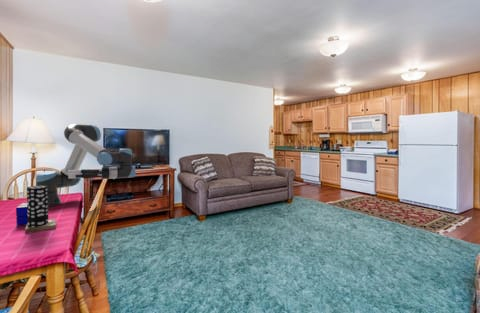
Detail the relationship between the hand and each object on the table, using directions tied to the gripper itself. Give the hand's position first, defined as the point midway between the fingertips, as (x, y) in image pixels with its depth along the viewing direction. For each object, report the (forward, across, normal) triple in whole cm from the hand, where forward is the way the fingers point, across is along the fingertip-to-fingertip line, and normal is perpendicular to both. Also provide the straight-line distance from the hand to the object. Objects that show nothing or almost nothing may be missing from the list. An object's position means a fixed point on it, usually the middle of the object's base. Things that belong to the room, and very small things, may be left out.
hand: (68, 174), depth 139 cm
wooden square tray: (+12, -9, -27) cm, 31 cm away
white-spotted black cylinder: (+13, -10, -25) cm, 30 cm away
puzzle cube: (+17, +5, -28) cm, 33 cm away
